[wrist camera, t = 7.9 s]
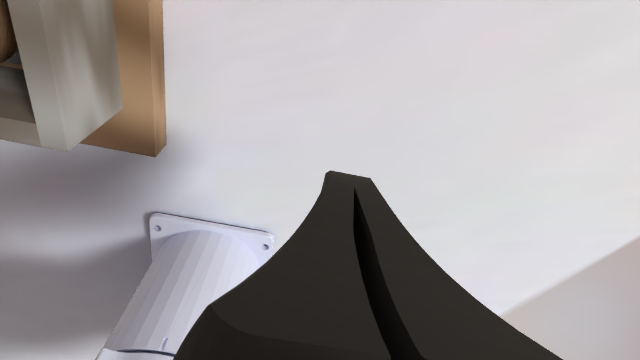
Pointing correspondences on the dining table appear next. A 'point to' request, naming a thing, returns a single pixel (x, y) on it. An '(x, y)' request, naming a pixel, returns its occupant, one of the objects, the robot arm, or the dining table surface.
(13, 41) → the plunger
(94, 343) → the dining table surface
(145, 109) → the base
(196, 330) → the robot arm
